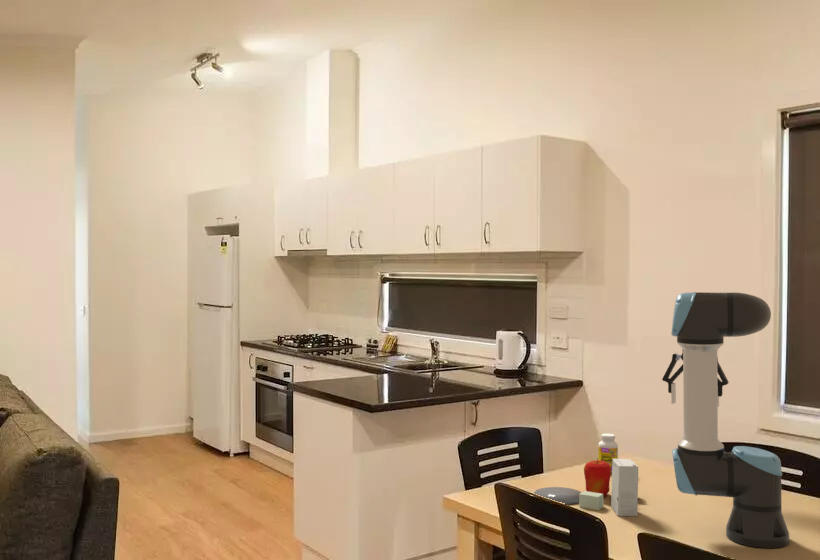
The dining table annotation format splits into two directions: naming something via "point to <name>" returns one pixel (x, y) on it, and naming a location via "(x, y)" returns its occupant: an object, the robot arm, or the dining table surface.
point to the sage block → (591, 500)
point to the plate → (560, 494)
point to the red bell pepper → (597, 476)
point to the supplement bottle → (608, 449)
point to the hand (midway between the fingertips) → (695, 404)
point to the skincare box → (624, 487)
